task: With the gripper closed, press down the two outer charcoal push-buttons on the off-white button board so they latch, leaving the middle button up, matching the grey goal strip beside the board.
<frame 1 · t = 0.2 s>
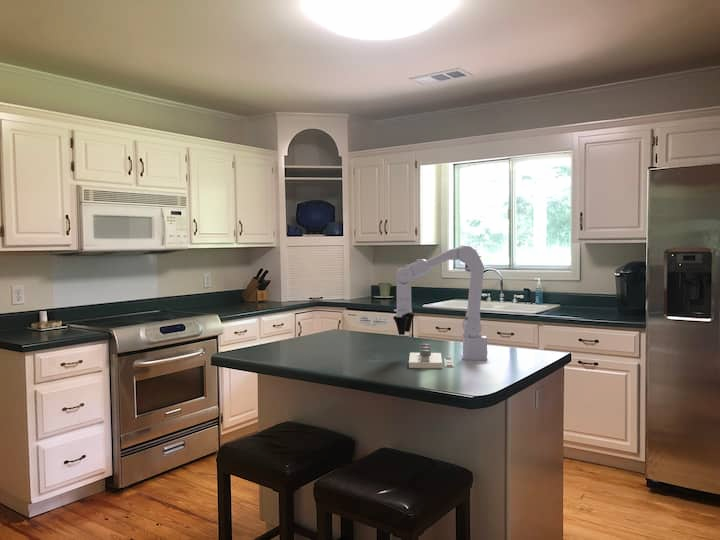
hand: (404, 333, 228), 10 cm above the countertop, fingers open, 7 cm apart
button c: (425, 356, 213), point 4 cm above the countertop, slide at 0.0 cm
board: (425, 362, 220), on the countertop
button a: (425, 349, 225), point 4 cm above the countertop, slide at 0.0 cm
button b: (425, 352, 219), point 4 cm above the countertop, slide at 0.0 cm
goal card: (448, 363, 219), on the countertop
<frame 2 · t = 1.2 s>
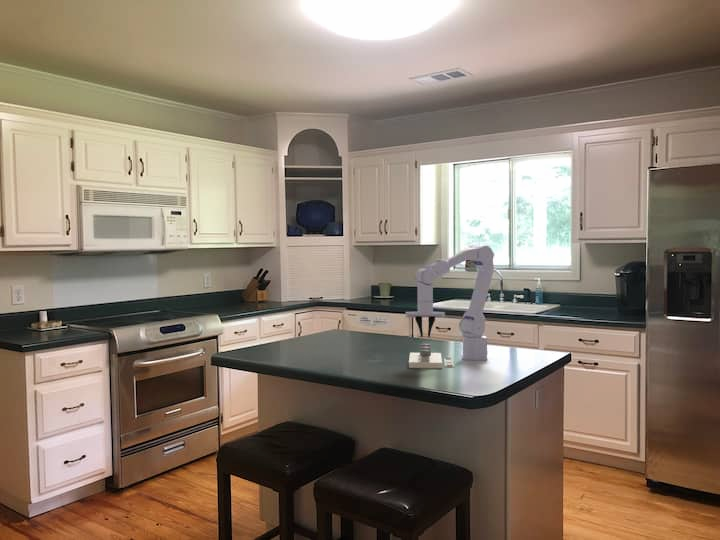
hand: (425, 336, 219), 10 cm above the countertop, fingers closed
nothing on the countertop moved.
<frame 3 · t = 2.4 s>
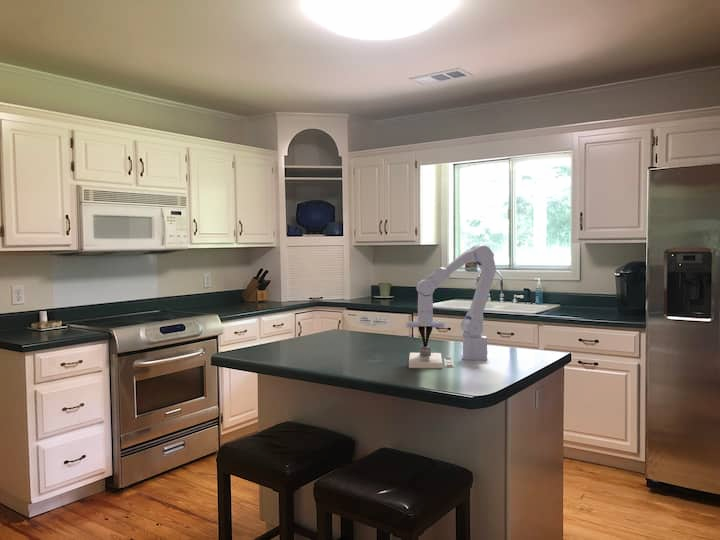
hand: (425, 346, 225), 5 cm above the countertop, fingers closed, pressing on button a
button a: (425, 351, 225), point 3 cm above the countertop, slide at 0.6 cm, touching gripper
everything else where it was.
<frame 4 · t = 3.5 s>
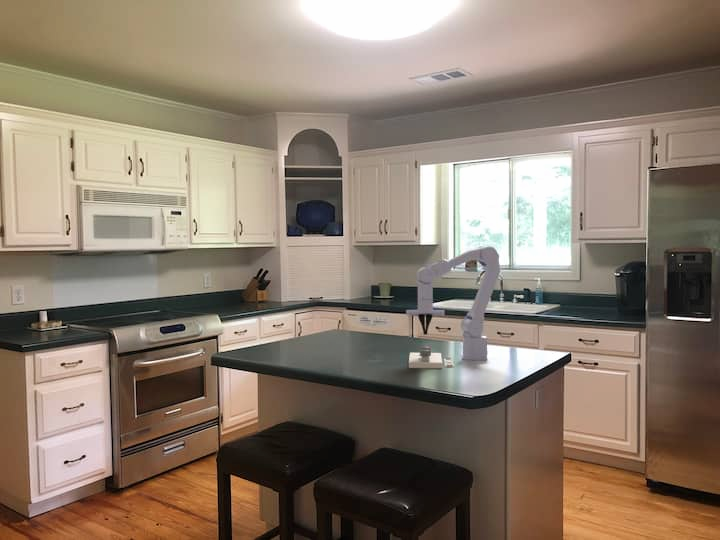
hand: (425, 334, 225), 10 cm above the countertop, fingers closed
button a: (425, 353, 225), point 2 cm above the countertop, slide at 1.5 cm
everything else where it was.
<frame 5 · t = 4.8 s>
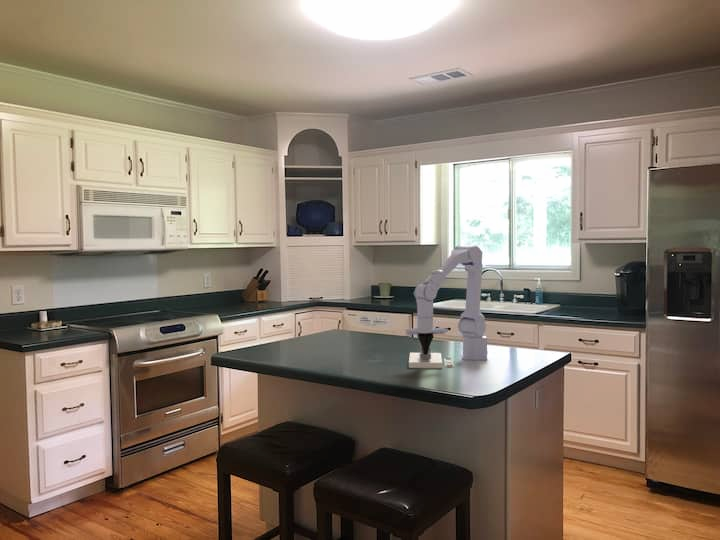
hand: (425, 353, 213), 5 cm above the countertop, fingers closed, pressing on button c
button c: (425, 359, 213), point 3 cm above the countertop, slide at 1.2 cm, touching gripper
everything else where it was.
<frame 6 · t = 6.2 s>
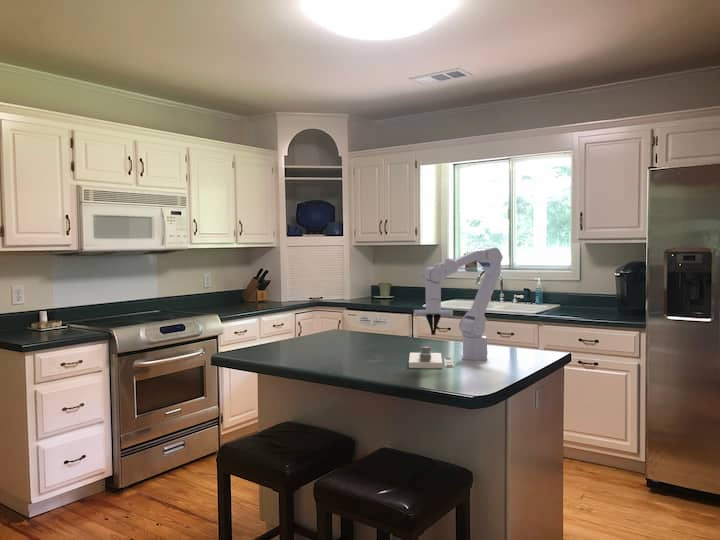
hand: (433, 334, 221), 10 cm above the countertop, fingers closed
button c: (425, 360, 213), point 2 cm above the countertop, slide at 1.5 cm
everything else where it was.
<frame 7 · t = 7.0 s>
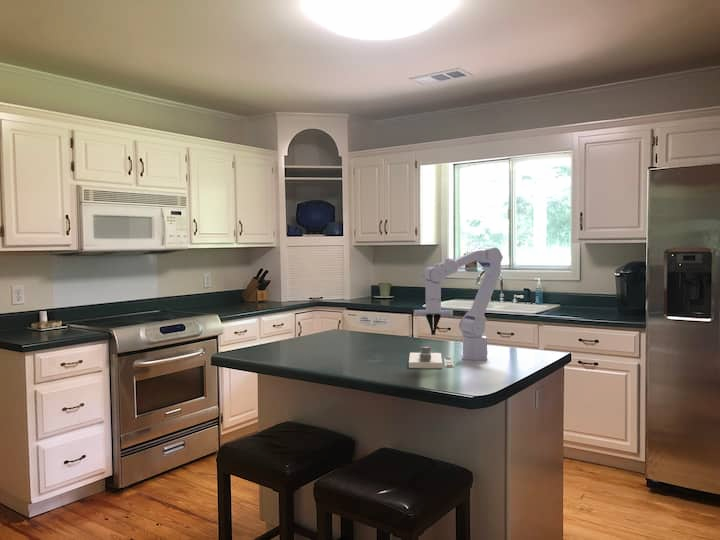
hand: (433, 334, 221), 10 cm above the countertop, fingers closed
nothing on the countertop moved.
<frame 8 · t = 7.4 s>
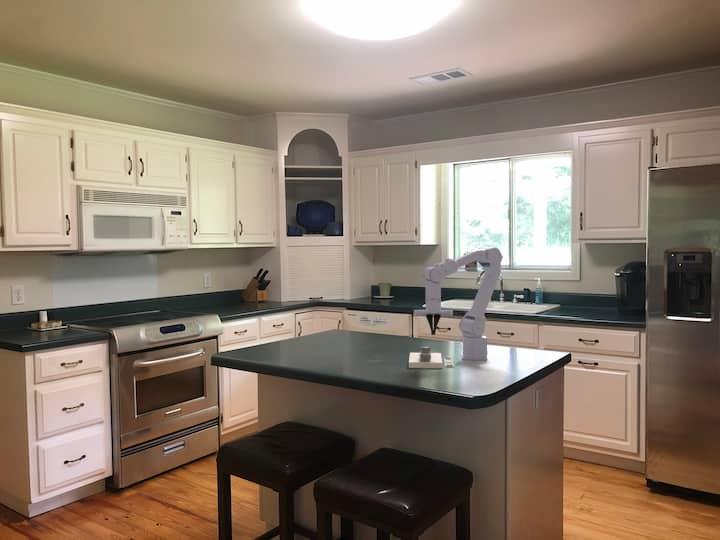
hand: (433, 334, 221), 10 cm above the countertop, fingers closed
nothing on the countertop moved.
at the end: button a slide at 1.5 cm; button c slide at 1.5 cm; button b slide at 0.0 cm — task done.
